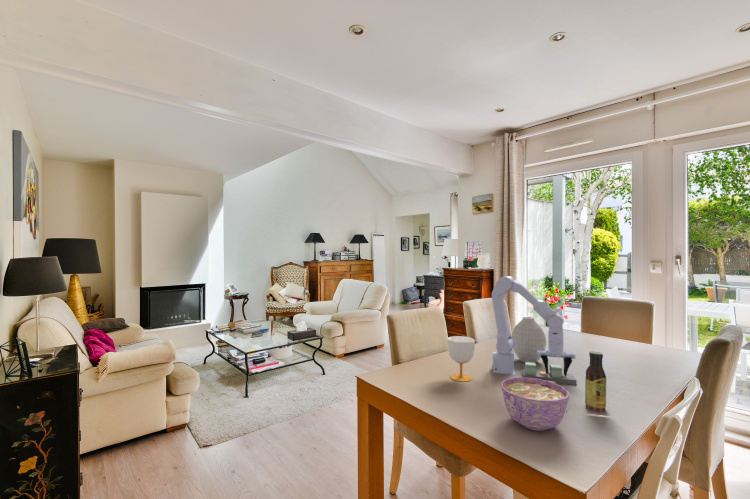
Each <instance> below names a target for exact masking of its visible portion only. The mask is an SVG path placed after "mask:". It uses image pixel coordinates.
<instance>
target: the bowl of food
mask: <svg viewBox="0 0 750 499" xmlns="http://www.w3.org/2000/svg"><path fill="white" fill-rule="evenodd" d="M500 387H501V391H502V396H503V401H504V404H505V407H506V411H507V412H508V414H509V415H510V417H511V418H512V419H513V420H514V421H515V422H517V423H518V424H520V425H521V426H523V427H524V428H526V429H528V430H533V431H539V432H541V431H547V430H550V429H553V428H555V427H558V426H559V424H561V423H562V421H563V420H564V416H565V414H566V411H567V407H568V402H569V399H570V392H569V390H567V389H566V388H565V387H563V386H561V385H560V384H559V383H557V384H555V383H552V382H549V381H546V380H541V379H536V378H526V377H523V376H522V377H520V376H519V377H510V378H506V379H504V380H502V382H500Z"/></svg>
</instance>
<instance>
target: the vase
mask: <svg viewBox="0 0 750 499" xmlns="http://www.w3.org/2000/svg"><path fill="white" fill-rule="evenodd" d="M511 337H512V339H513V340H514V343H515V345H514V347H513V349H512V350H513V352H514V355H515V356H516V357H517V358H518V359H519V360H520V361H521V362H522V363H524V364H525V362H532V363H535V364H536V363H537V362H538V361H540V359H542V358H541V356H537V351H546V347H547V338H546V334H545V331H544V330H543V328H542V327H541V326H540V324H539V323H537V321H536V320H535V318H534V317H532V316H523V317H522V319H521V320H520V321H519V322H517V324H516V325H515V326H514V328H513V330H512V332H511Z"/></svg>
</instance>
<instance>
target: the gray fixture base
mask: <svg viewBox="0 0 750 499" xmlns="http://www.w3.org/2000/svg"><path fill="white" fill-rule="evenodd" d="M524 367H525V368H524V369H522V371H521V374H522V377H526V378H536V379H541V380H546V381H555V382H556V383H557V384H562V385H571V386H572V385H574V386H577V385H578V384H577V379H576V377H575V376H574V375H573V374H572V373H567V376H565V375H564V372H562V378H558V377H550V371H548V374H546V370H545V371H544V370H543V371H542V370H537V364H536V363H532V362H525V363H524Z"/></svg>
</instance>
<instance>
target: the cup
mask: <svg viewBox="0 0 750 499" xmlns="http://www.w3.org/2000/svg"><path fill="white" fill-rule="evenodd" d="M475 343H476V340H475V339H474V338H473V337H470V336H465V335H462V336H461V335H459V336H458V335H452V336H449V337H447V348H448V350H447V351H448V353H449V354H448V355H449V357H450V358H451V359H452V361H454V362H455V363H458V364H459V373H456V374H452V375H450V379H451V380H453V381H456V382H460V383H461V382H462V383H465V382H471V381H472V380H473V378H472V377H471V376H470V375H467V374H464V373H463V365H464V364H467V363H469V362H470V361H471V360H472V359H473V357H474V353H475V346H476V344H475Z"/></svg>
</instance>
